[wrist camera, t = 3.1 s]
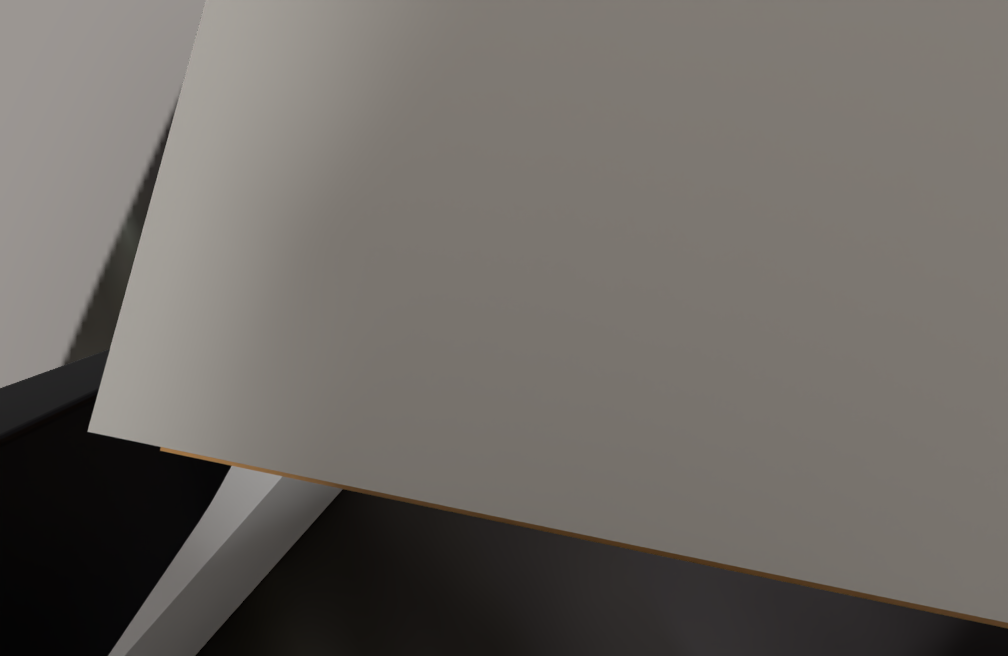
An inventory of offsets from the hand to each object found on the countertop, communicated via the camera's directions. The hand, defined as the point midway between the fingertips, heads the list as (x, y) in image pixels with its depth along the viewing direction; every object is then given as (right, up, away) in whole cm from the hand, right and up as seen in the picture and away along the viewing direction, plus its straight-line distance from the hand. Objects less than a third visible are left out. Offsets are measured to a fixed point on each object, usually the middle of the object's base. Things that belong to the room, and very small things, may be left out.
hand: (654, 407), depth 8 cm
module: (+3, -1, +8) cm, 9 cm away
